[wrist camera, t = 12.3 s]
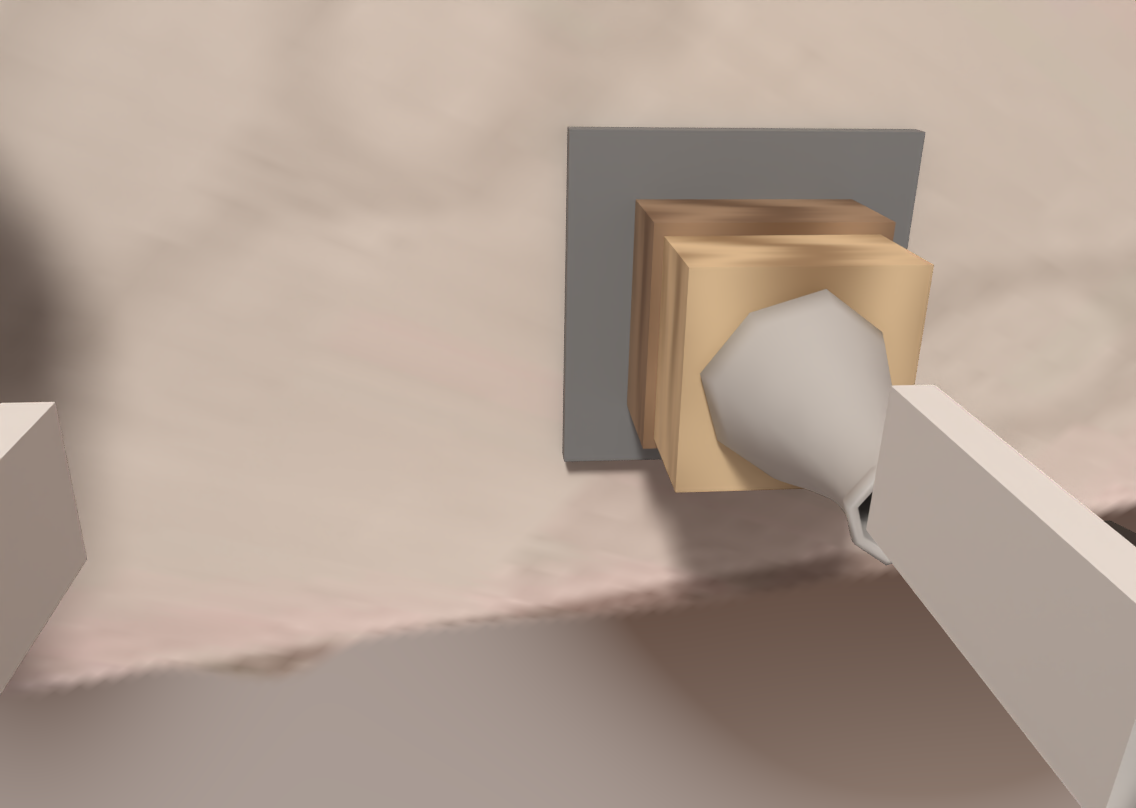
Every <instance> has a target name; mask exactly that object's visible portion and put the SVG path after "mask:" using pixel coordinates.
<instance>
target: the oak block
mask: <svg viewBox="0 0 1136 808" xmlns="http://www.w3.org/2000/svg"><path fill="white" fill-rule="evenodd" d="M933 267H934V265H933V264H931V263H929V262H928V261H926V260H924V259H922V258H921V257H919V256H917V255H915V254H914V253H912V252H910V251H909V250H907V249H905V248H903V247H902V246H900V245H898V244H896V243H895V242H893V241H891V240H889V239H888V238H886V237H884V236H882V235H881V234H880V235H755V236H664V251H663V271H662V291H661V311H660V331H659V351H658V370H657V390H656V410H655V430H654V440H655V443H656V445H657V448H658V450H659V453H660V455H661V458H662V460H663V463H664V465H665V468H666V470H667V473H668V475H669V478H670V480H671V483H672V485H673V488H674V490H675V493H678V492H711V491H744V490H777V489H804V488H801V487H798V486H795V485H792V484H788V483H785V482H782V481H779V480H777V479H774V478H772V477H771V476H769V475H768V474H766V473H765V472H763V471H762V470H760V469H759V468H758V467H756V466H755V465H753V464H752V463H750V462H749V461H747V460H746V459H744V458H743V457H741V456H740V455H738V454H737V453H735V452H734V451H732V450H731V449H729V448H728V447H726V446H725V445H723V444H722V443H721V442H719V441H718V440H717V437H716V433H715V429H714V425H713V422H712V418H711V414H710V410H709V406H708V403H707V399H706V395H705V391H704V387H703V383H702V380H701V376H700V373H701V372H702V371H703V369H704V368H705V367H706V366H707V365H708V363H709V362H710V361H711V360H712V358H713V357H714V356H715V355H716V353H717V352H718V351H719V350H720V349H721V347H722V346H723V345H724V344H725V342H726V341H727V340H728V339H729V338H730V336H731V335H732V334H733V333H734V331H735V330H736V329H737V328H738V327H739V325H740V324H741V323H742V322H743V320H744V319H745V318H746V317H747V316H748V314H749V313H750V312H754V311H757V310H760V309H763V308H767V307H770V306H773V305H776V304H779V303H783V302H786V301H789V300H792V299H795V298H799V297H802V296H805V295H808V294H811V293H815V292H818V291H821V290H824V289H827V290H828V291H830V292H831V293H832V294H834V295H835V296H836V297H837V298H839V299H840V300H841V301H843V302H844V303H845V304H847V305H848V306H849V307H850V308H852V309H853V310H854V311H856V312H857V313H858V314H860V315H861V316H862V317H863V318H865V319H866V320H867V321H869V322H870V323H871V324H873V325H874V326H875V327H876V328H878V329H879V330H880V331H882V333H883V338H884V343H885V348H886V354H887V359H888V365H889V371H890V377H891V382H892V386H894V385H914V384H915V378H916V372H917V366H918V360H919V353H920V347H921V341H922V335H923V329H924V323H925V317H926V310H927V304H928V298H929V292H930V286H931V280H932V273H933Z"/></svg>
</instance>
